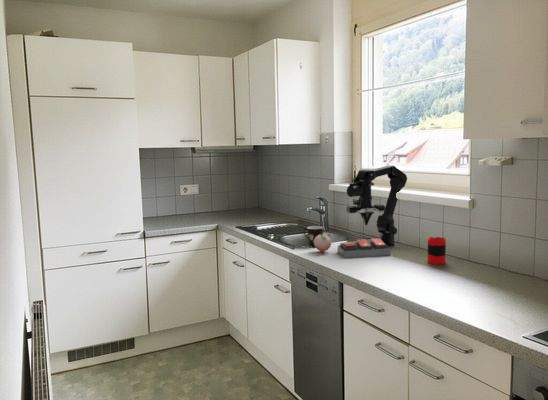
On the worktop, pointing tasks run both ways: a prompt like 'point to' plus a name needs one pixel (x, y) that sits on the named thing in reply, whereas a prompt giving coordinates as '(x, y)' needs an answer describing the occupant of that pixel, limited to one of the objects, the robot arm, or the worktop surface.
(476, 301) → the worktop surface
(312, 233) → the coffee mug
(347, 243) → the rocker
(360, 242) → the middle rocker
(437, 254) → the soda can
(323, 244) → the decorative fruit
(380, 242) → the rocker
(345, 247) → the power strip
